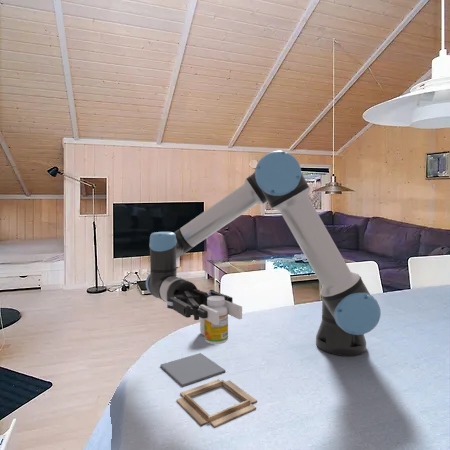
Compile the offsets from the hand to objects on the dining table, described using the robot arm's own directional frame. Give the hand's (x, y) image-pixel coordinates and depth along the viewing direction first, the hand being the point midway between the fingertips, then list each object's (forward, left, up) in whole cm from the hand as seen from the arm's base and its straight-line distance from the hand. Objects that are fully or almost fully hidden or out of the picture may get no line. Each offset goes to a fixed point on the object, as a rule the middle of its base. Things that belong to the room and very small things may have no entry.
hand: (229, 315), depth 75 cm
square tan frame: (+4, -3, -22) cm, 22 cm away
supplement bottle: (+5, -3, -7) cm, 9 cm away
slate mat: (+18, -14, -22) cm, 31 cm away
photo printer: (+24, -41, -22) cm, 52 cm away
